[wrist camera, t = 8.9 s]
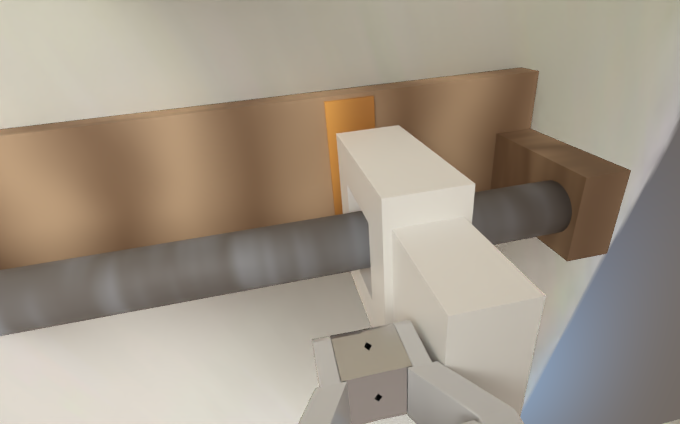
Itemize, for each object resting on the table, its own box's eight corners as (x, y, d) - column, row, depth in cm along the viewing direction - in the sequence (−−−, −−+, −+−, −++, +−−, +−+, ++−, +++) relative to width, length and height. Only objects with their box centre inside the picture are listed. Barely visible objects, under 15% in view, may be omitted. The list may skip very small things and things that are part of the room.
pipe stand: (-35, 321, 22) (-173, 470, 15) (-156, 148, 17) (-445, 243, 10) (500, 226, 26) (591, 304, 19) (521, 67, 21) (652, 94, 14)
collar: (346, 262, 21) (428, 475, 11) (336, 133, 18) (436, 279, 8) (399, 253, 22) (521, 451, 12) (398, 125, 18) (567, 253, 9)
